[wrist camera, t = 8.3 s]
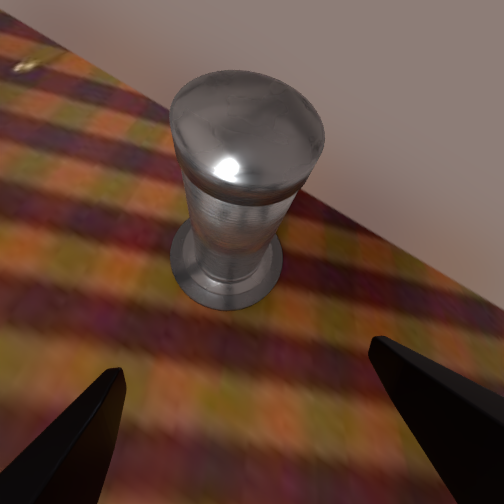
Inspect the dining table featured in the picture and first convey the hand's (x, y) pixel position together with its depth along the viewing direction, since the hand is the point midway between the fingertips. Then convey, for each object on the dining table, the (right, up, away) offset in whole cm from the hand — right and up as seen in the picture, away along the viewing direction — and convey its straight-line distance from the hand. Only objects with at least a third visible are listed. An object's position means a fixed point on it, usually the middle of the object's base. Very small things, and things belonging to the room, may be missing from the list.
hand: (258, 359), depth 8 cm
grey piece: (-2, +4, +10) cm, 11 cm away
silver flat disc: (-2, +3, +11) cm, 12 cm away
